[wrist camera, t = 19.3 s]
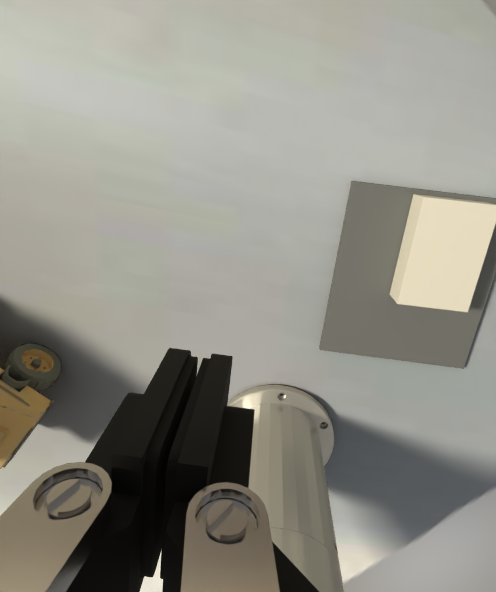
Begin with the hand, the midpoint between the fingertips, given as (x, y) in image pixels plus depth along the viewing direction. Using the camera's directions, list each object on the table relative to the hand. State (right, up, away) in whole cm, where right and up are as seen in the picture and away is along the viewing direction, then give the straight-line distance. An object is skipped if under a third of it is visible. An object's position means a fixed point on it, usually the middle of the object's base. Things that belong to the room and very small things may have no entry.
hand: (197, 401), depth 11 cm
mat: (+16, +4, +26) cm, 31 cm away
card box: (+15, +7, +23) cm, 28 cm away
